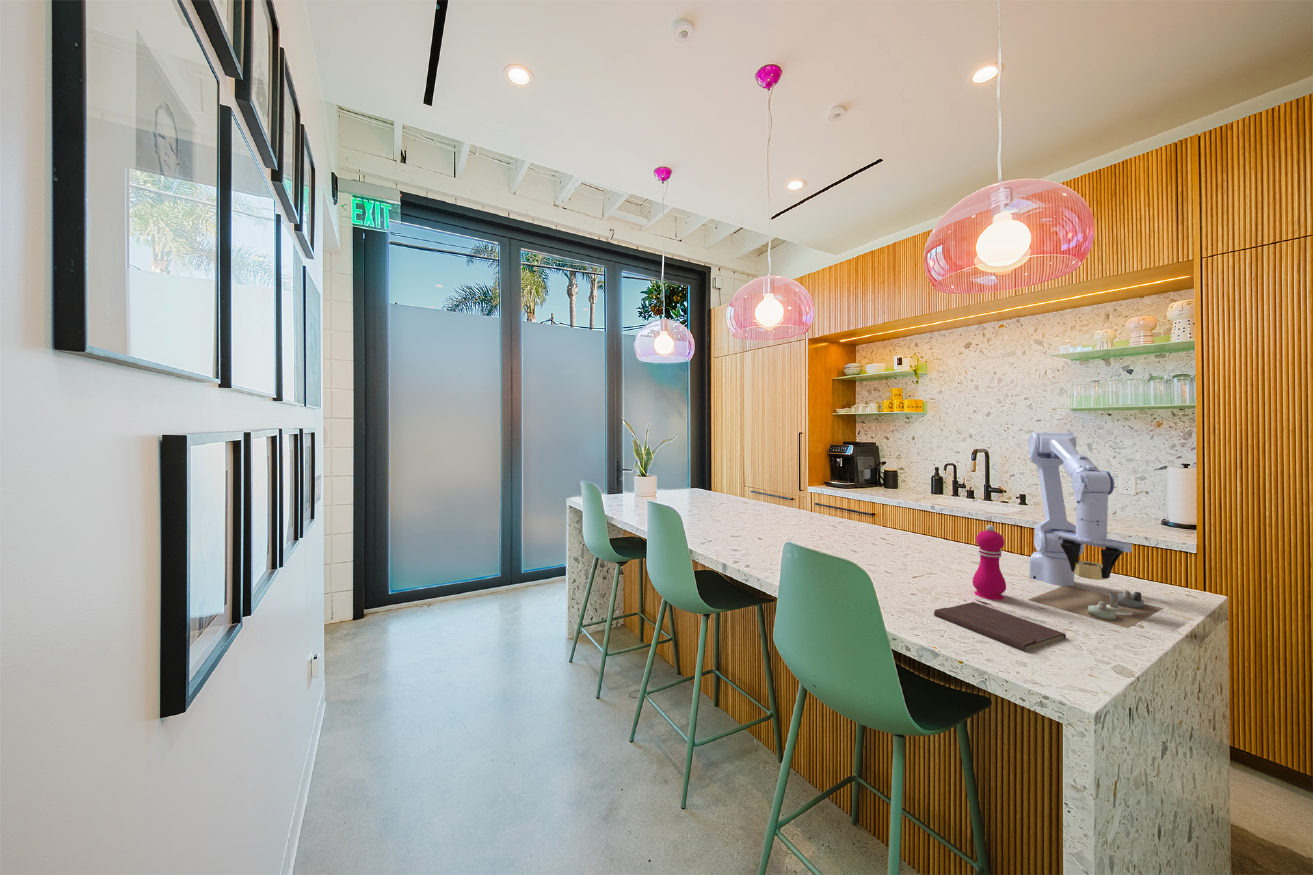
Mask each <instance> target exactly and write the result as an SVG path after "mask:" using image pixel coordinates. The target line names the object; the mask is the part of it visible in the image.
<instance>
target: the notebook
mask: <svg viewBox="0 0 1313 875" xmlns="http://www.w3.org/2000/svg"><path fill="white" fill-rule="evenodd" d="M933 616H934V617H937V618H939V619H941V620H944V621H947V622H949V623H951V624H954V625H956V626H959V627H962V628H964V629H967V630H969V631H971V632H974V633H976V634H979V635H981V636H984V637H986V638H989V639H992V640H994V641H996V642H999V643H1001V644H1004V645H1007V646H1008V647H1011V648H1014V649H1016V650H1019V651H1022V652H1026V651H1027V652H1028V651H1029V650H1033V649H1035V648H1038V647H1041V646H1045V645H1048V644H1050V643H1055V642H1057V641H1058V642H1059V641H1060V640H1064V639H1067V634H1066V633H1065V632H1062V631H1059V630H1056V629H1053V628H1051V627H1047V626H1045V625H1042V624H1039V623H1036V622H1033V621H1030V620H1027V619H1025V618H1021V617H1019V616H1015V615H1012V614H1010V613H1008V612H1004V611H1001V610H998V609H996V608H992V607H989V606H986V605H984V604H982V603H981V604H980V603H979V602H975V601H971V602H966V603H963V604H959V605H955V606H950V607H941V608H937V609H935V610H934V612H933Z"/></svg>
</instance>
